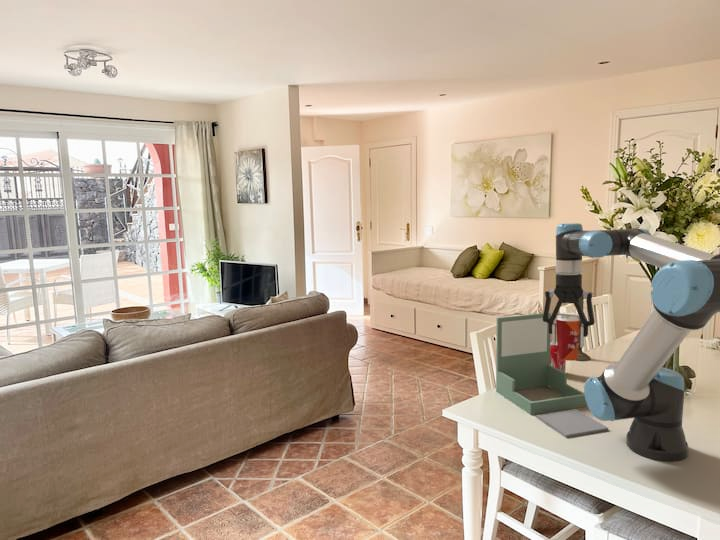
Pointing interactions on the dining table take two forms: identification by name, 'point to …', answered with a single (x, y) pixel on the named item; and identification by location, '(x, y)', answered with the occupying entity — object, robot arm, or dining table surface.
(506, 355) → the green display box
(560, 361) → the soda can
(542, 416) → the rubber mat
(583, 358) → the candlestick holder
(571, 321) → the paper cup
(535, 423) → the dining table surface
